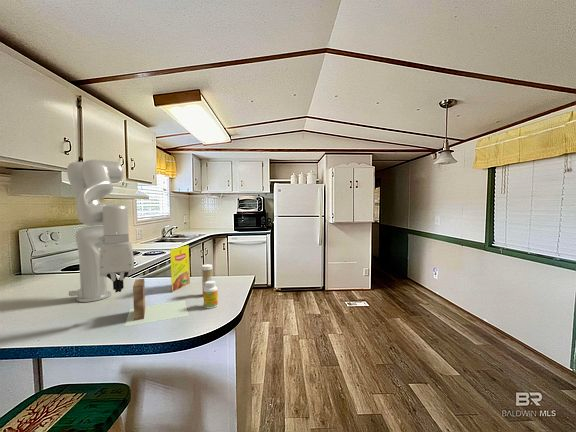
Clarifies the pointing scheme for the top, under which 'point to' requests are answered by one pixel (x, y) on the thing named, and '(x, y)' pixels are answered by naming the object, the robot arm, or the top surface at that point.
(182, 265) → the food package
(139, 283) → the walnut plank
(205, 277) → the sprinkles bottle
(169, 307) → the mat
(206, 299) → the supplement bottle
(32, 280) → the top surface
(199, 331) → the top surface
